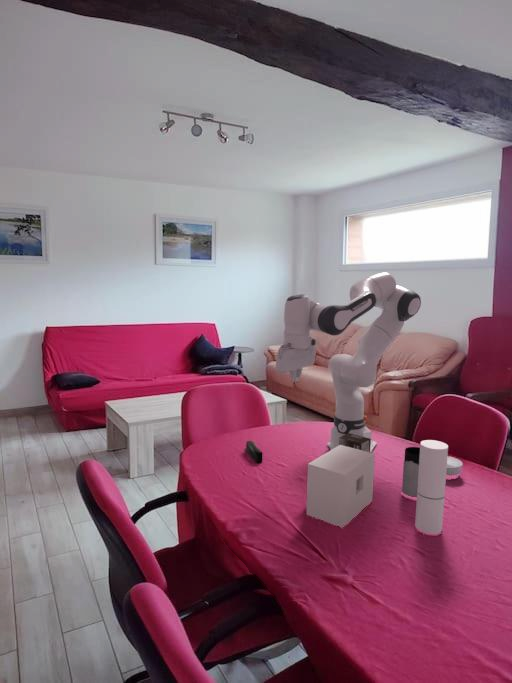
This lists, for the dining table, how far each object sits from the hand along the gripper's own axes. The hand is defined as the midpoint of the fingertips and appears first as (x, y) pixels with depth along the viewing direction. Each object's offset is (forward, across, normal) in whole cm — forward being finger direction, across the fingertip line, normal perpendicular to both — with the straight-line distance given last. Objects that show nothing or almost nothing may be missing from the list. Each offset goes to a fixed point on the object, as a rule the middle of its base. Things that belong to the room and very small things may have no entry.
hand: (295, 381), depth 161 cm
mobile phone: (+34, +4, +22) cm, 41 cm away
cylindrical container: (+34, -7, -50) cm, 61 cm away
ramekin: (+35, +34, -43) cm, 65 cm away
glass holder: (+34, +14, -40) cm, 54 cm away
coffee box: (+34, +7, -20) cm, 40 cm away
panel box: (+34, -12, -25) cm, 44 cm away
